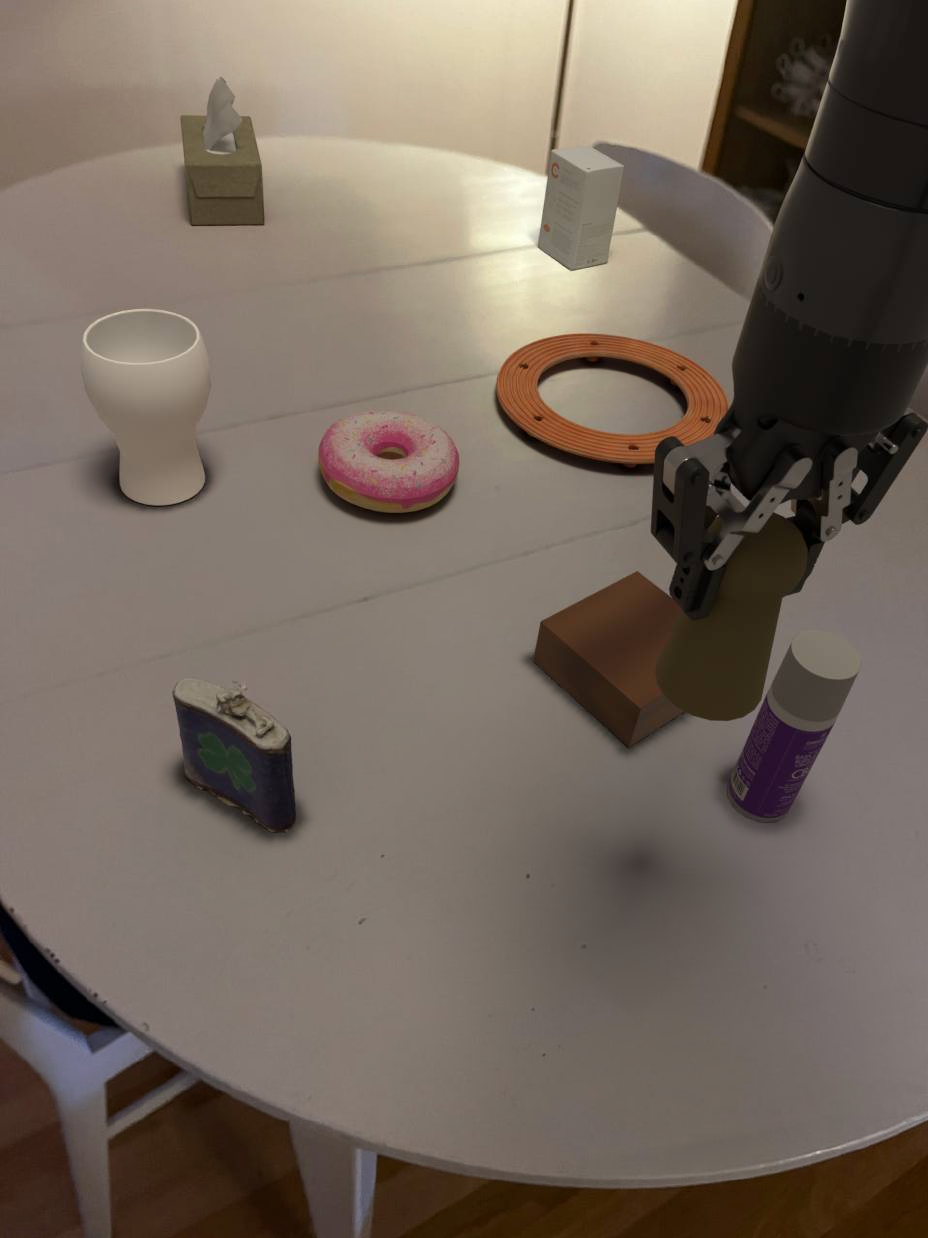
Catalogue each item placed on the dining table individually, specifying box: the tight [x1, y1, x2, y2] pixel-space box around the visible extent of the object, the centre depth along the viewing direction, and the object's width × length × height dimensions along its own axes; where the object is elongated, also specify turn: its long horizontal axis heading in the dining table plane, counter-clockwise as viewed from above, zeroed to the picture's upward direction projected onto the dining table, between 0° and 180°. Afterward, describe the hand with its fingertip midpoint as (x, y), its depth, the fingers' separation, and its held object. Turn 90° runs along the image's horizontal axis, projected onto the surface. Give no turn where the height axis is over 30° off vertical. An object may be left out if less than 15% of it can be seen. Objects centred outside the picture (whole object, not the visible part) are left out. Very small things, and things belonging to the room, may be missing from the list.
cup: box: [80, 308, 212, 506], centre depth 91 cm, size 11×11×15 cm
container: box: [726, 629, 862, 823], centre depth 70 cm, size 5×5×15 cm
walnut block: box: [532, 570, 686, 748], centre depth 81 cm, size 11×11×4 cm
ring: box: [495, 332, 730, 468], centre depth 111 cm, size 25×25×2 cm
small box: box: [537, 144, 625, 271], centre depth 135 cm, size 8×6×13 cm
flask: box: [171, 677, 298, 833], centre depth 67 cm, size 9×3×11 cm, turn 58°
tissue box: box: [179, 76, 266, 226], centre depth 138 cm, size 19×10×16 cm, turn 13°
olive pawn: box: [655, 511, 808, 722], centre depth 53 cm, size 6×6×11 cm
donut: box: [317, 409, 460, 514], centre depth 97 cm, size 14×13×5 cm
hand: (736, 595), depth 53 cm, fingers closed on olive pawn, 5 cm apart
